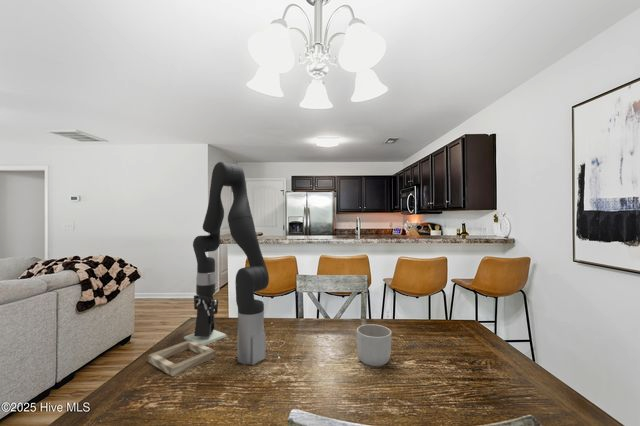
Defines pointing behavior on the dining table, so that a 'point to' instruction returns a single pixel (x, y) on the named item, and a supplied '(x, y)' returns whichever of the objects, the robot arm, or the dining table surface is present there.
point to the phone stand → (203, 322)
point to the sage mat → (205, 337)
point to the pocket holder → (175, 369)
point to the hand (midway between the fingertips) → (205, 321)
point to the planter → (374, 344)
